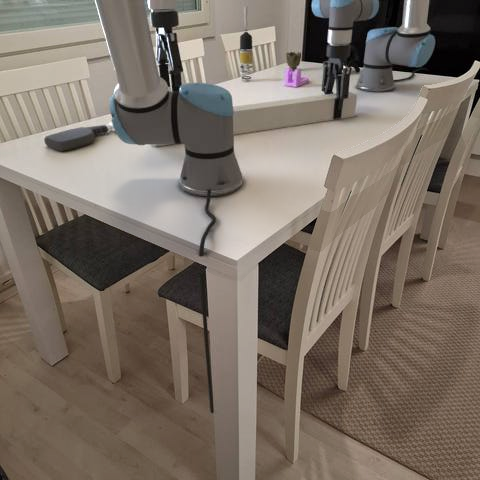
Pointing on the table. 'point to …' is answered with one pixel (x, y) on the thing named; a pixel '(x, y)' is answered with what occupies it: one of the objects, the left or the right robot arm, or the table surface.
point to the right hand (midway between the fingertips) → (332, 115)
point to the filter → (246, 48)
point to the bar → (288, 113)
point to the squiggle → (352, 62)
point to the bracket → (297, 78)
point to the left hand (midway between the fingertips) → (171, 92)
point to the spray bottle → (75, 137)
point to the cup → (293, 60)
